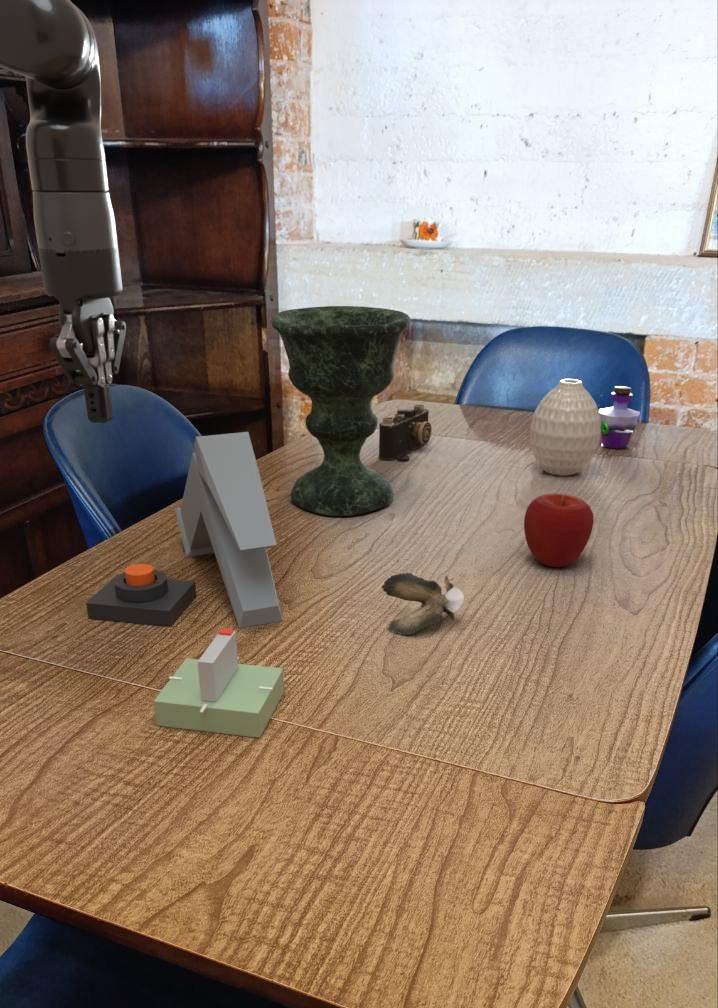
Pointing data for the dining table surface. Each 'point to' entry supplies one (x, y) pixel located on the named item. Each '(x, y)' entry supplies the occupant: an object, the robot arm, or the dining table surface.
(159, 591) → the button box
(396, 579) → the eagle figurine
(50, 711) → the dining table surface
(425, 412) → the camera
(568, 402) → the vase
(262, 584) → the bracket
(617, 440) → the potion bottle
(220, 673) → the grey flat block
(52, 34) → the robot arm
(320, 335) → the goblet
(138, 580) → the button
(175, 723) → the base
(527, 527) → the apple
